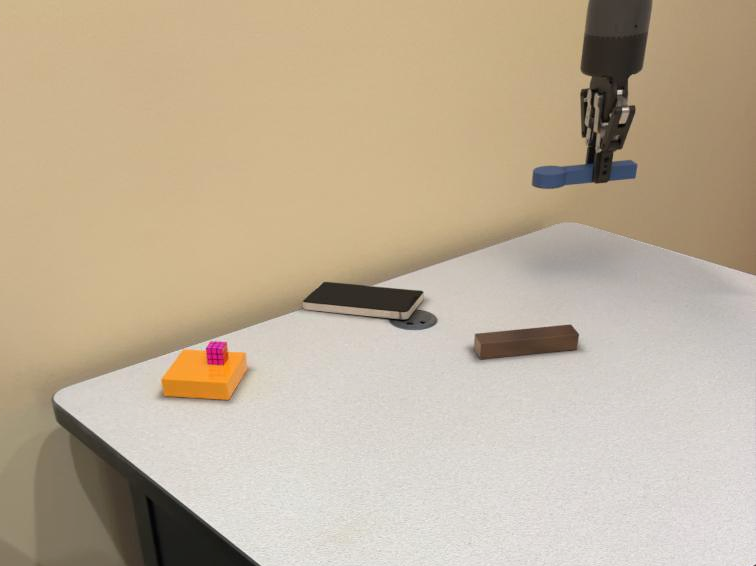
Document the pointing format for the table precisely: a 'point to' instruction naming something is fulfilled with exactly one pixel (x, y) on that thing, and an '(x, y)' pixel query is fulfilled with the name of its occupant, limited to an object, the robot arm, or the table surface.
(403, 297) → the smartphone
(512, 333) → the walnut bar
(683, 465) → the table surface
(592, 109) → the robot arm
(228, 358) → the orange square platform
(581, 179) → the spoon
